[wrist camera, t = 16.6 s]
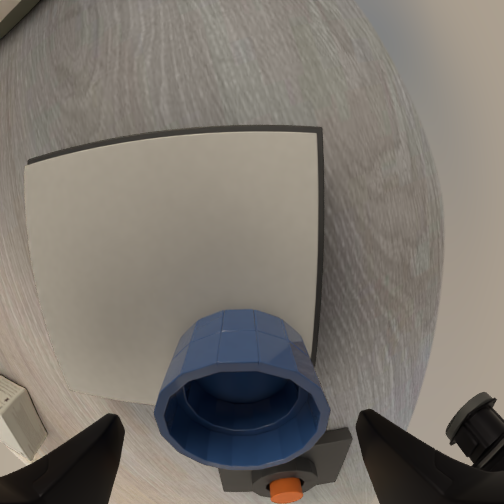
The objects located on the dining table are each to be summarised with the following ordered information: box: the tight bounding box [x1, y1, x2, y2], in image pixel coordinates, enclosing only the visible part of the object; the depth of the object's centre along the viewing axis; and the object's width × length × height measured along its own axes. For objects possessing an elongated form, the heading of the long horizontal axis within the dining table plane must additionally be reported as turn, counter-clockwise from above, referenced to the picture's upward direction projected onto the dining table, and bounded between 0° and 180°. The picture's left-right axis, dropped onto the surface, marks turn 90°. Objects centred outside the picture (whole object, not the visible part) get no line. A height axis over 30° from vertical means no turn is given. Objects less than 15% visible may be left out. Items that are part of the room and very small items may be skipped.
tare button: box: [269, 477, 303, 503], centre depth 16 cm, size 3×3×2 cm
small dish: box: [154, 309, 331, 470], centre depth 11 cm, size 6×6×4 cm
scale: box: [24, 125, 324, 405], centre depth 14 cm, size 16×15×3 cm
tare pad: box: [218, 428, 352, 497], centre depth 18 cm, size 11×8×3 cm
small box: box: [0, 375, 47, 461], centre depth 15 cm, size 8×8×5 cm
